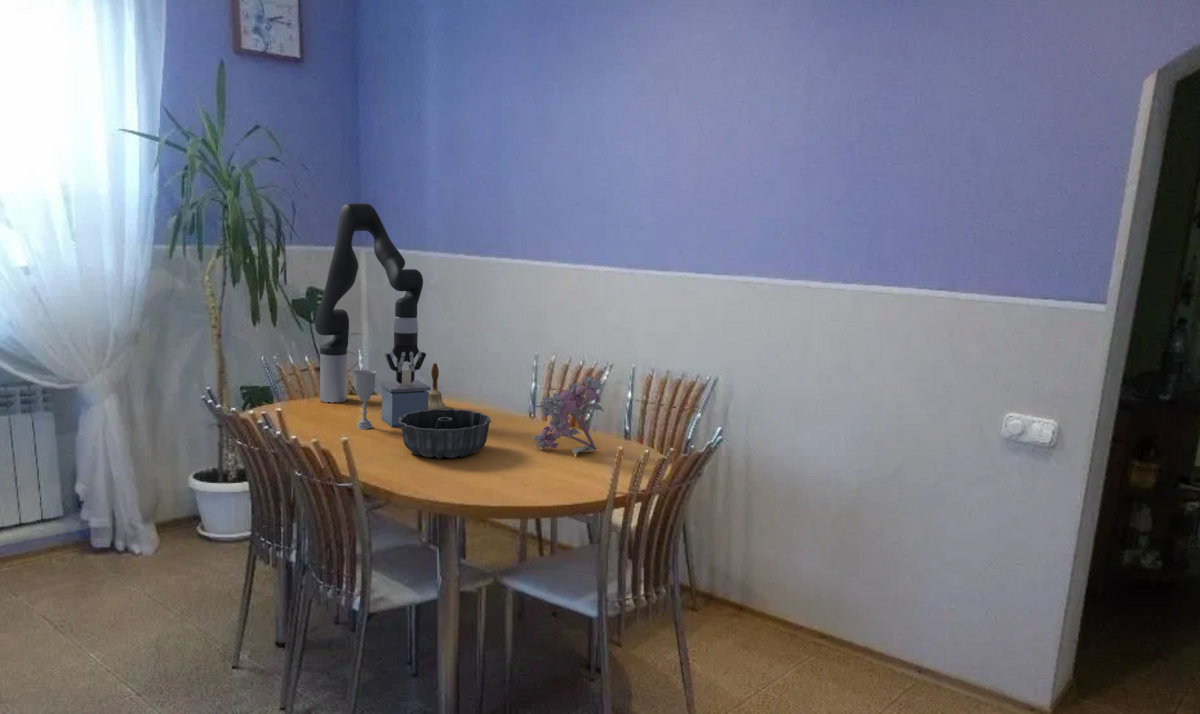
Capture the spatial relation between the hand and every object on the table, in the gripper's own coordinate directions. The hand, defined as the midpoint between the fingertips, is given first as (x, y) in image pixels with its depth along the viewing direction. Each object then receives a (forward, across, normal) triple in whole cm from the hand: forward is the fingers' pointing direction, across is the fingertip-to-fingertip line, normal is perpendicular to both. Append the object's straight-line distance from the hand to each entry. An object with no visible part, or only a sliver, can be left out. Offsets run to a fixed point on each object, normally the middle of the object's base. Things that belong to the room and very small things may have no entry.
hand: (405, 382), depth 281 cm
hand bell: (+14, -17, -20) cm, 29 cm away
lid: (+3, 0, 0) cm, 3 cm away
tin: (+13, 0, 0) cm, 13 cm away
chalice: (+14, +14, +3) cm, 20 cm away
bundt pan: (+13, 0, +39) cm, 41 cm away
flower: (+13, -32, +51) cm, 62 cm away
